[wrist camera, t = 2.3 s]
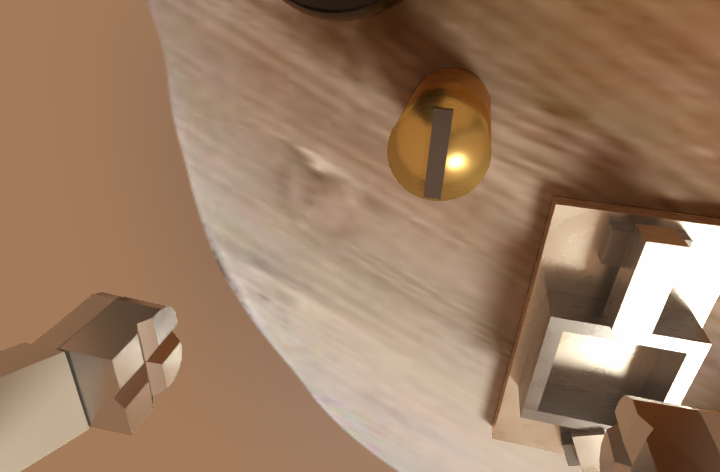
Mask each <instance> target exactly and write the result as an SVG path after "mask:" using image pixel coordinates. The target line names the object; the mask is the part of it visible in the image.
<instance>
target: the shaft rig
mask: <svg viewBox="0 0 720 472" xmlns="http://www.w3.org/2000/svg"><path fill="white" fill-rule="evenodd" d="M719 293H720V218H714V217H706V216H699V215H691V214H683V213H676V212H668V211H661V210H653V209H645V208H638V207H630V206H623V205H615V204H608V203H600V202H592V201H585V200H577V199H570V198H562V197H553V200H552V204H551V208H550V212H549V215H548V219H547V223H546V227H545V230H544V234H543V238H542V242H541V245H540V249H539V253H538V257H537V260H536V264H535V268H534V272H533V275H532V279H531V283H530V287H529V290H528V294H527V298H526V302H525V305H524V309H523V313H522V317H521V320H520V324H519V328H518V331H517V335H516V339H515V343H514V346H513V350H512V354H511V358H510V361H509V365H508V369H507V373H506V376H505V380H504V384H503V388H502V391H501V395H500V399H499V403H498V406H497V410H496V414H495V418H494V421H493V425H492V438H493V439H498V440H502V441H507V442H511V443H516V444H521V445H525V446H530V447H534V448H539V449H544V450H548V451H553V452H557V453H562V454H565V456H566V459H567V463H568V466H578V465H580V466H581V469H582V472H600V464H599V457H600V449H601V443H602V440H603V437H604V435H605V432H606V430H607V429H608V428H610V427H612V426H614V425H616V424H618V421H617V418H616V414H615V409H616V407H617V405H618V402H619V400H620V399H621V398H622V397H623V396H625V395H629V396H634V397H639V398H645V399H650V400H656V401H661V402H666V403H672V404H677V405H680V404H681V402H682V400H683V398H684V396H685V394H686V392H687V390H688V388H689V387H690V385H691V383H692V381H693V379H694V377H695V375H696V373H697V371H698V369H699V368H700V366H701V364H702V362H703V360H704V358H705V356H706V354H707V352H708V351H709V349H710V347H711V345H712V344H711V342H710V341H709V339H708V337H707V335H706V334H705V332H704V330H703V329H702V327H703V325H704V323H705V321H706V319H707V317H708V315H709V313H710V311H711V309H712V307H713V305H714V303H715V301H716V299H717V297H718V295H719Z"/></svg>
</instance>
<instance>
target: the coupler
mask: <svg viewBox="0 0 720 472" xmlns="http://www.w3.org/2000/svg"><path fill="white" fill-rule="evenodd" d="M387 155H388V161H389V165H390V168H391V171H392V173H393V175H394V176H395V178H396V179H397V181H398V182H399V183H400V184H401V185H402V186H403V187H404V188H405V189H406V190H408V191H409V192H411V193H412V194H414V195H416V196H418V197H420V198H424V199H427V200H433V201H446V200H452V199H455V198H458V197H461V196H463V195H465V194H467V193H468V192H470V191H471V190H473V189H474V188H475V187H476V186H477V185H478V184H479V183H480V182H481V180H482V179H483V178H484V176H485V174H486V172H487V170H488V168H489V164H490V160H491V103H490V97H489V94H488V91H487V89H486V87H485V85H484V84H483V83H482V81H481V80H480V79H479V78H478V77H476V76H475V75H474V74H472V73H470V72H468V71H466V70H463V69H458V68H446V69H441V70H438V71H436V72H434V73H432V74H430V75H429V76H427V77H426V78H425V79H424V80H423V81H422V82H421V83H420V84H419V85H418V87H417V89H416V90H415V92H414V94H413V95H412V97H411V99H410V101H409V102H408V104H407V106H406V107H405V109H404V111H403V113H402V114H401V116H400V118H399V120H398V121H397V123H396V125H395V126H394V128H393V130H392V132H391V135H390V138H389V141H388V148H387Z"/></svg>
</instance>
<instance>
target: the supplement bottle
mask: <svg viewBox="0 0 720 472" xmlns="http://www.w3.org/2000/svg"><path fill="white" fill-rule="evenodd" d="M283 1H284V2H285V3H287V4H288V5H290V6H291V7H293V8H295V9H297V10H298V11H300V12H302V13H305V14H307V15H309V16H312V17H316V18H319V19H323V20H329V21H352V20H359V19H363V18H367V17H371V16H374V15H376V14H379V13H381V12H383V11H385V10H387V9H389V8H391V7H393V6H394V5H396V4H398V3H400V2H402V1H403V0H283Z"/></svg>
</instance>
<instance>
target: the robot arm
mask: <svg viewBox="0 0 720 472" xmlns="http://www.w3.org/2000/svg"><path fill="white" fill-rule="evenodd" d="M176 325H177V319H176V314H175V310H174V309H172V308H170V307H168V306H164V305H160V304H155V303H150V302H146V301H141V300H137V299H132V298H128V297H120V296H116V295H112V294H107V293H103V292H100V293H97V294H92V295H91V296H90V297H89V298H87V300H85V301H84V302H83V303H81V304H80V305H79V306H78V307H76V308H75V309H74V310H73V311H72V312H70V313H69V314H68V315H67V316H65V317H64V318H63V319H62V320H61V321H59V322H58V323H57V324H56V325H55V326H53V327H52V328H51V329H50V330H48V331H47V332H46V333H45V334H43V335H42V336H41V337H40V338H39V339H37V340H36V341H35V342H34V343H32V344H28V343H22V344H19V345H17V346H14V347H11V348H8V349H6V350H3V351H0V472H20V471H22V470H23V469H25V468H27V467H28V466H30V465H31V464H33V463H35V462H36V461H38V460H40V459H41V458H43V457H45V456H46V455H48V454H49V453H51V452H53V451H54V450H56V449H57V448H59V447H61V446H62V445H64V444H66V443H67V442H69V441H70V440H72V439H74V438H75V437H77V436H78V435H80V434H82V433H83V432H85V431H87V430H88V429H89V426H90V427H95V428H100V429H104V430H109V431H114V432H119V433H123V434H128V435H132V434H133V433H134V432H135V430H136V429H137V428H138V426H139V425H140V424H141V422H142V421H143V420H144V419H145V417H146V416H147V415H148V413H149V412H150V411H151V409H152V408H153V396H154V395H156V394H158V393H160V392H162V391H164V390H166V389H167V388H168V387H169V386H170V384H171V383H172V381H173V380H174V379H175V377H176V374H177V372H178V369H179V367H180V364H181V357H182V348H181V342H180V340H179V339H178V338H177V337H176V336H175V334H174V333H173V332H172V330H173V329H174V327H175V326H176ZM615 414H616V418H617V421H618V424H616V425H614V426H612V427H610V428H608V429H607V430H606V432H605V435H604V437H603V440H602V443H601V449H600V457H599V464H600V472H720V412H718V411H712V410H707V409H701V408H696V407H691V408H690V407H688V406H682V405H677V404H672V403H666V402H661V401H656V400H650V399H645V398H639V397H634V396H629V395H625V396H623V397H622V398H621V399H620V400H619V402H618V405H617V407H616V409H615Z"/></svg>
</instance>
